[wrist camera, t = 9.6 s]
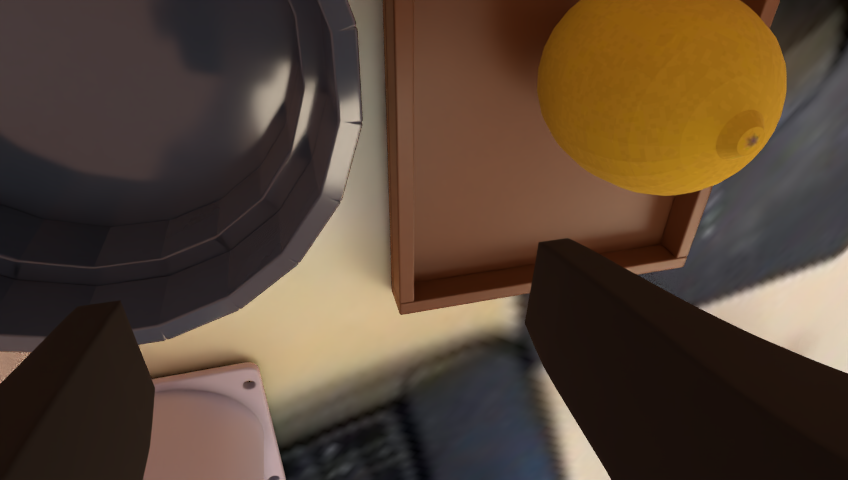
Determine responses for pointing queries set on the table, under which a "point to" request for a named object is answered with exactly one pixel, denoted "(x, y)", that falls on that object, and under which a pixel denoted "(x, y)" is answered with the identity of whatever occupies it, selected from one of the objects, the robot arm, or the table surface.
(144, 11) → the bowl
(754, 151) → the lemon
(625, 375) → the robot arm
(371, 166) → the table surface
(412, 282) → the tray
